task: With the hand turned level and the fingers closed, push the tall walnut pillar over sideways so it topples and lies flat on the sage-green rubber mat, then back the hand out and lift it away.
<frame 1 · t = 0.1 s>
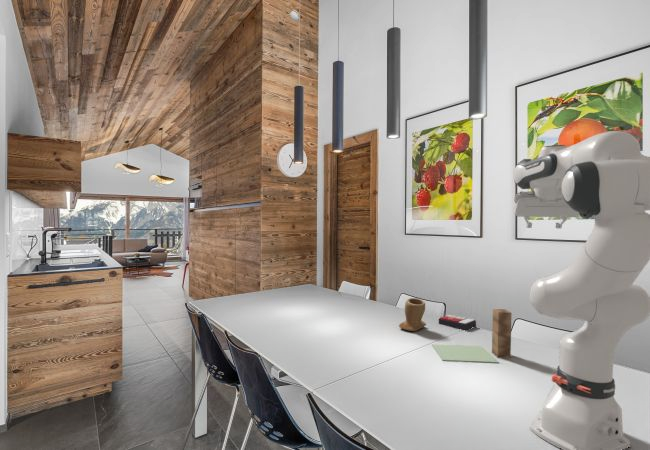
hand: (543, 227, 122), 52 cm above the table, tool tilted 20°, fingers open, 8 cm apart
walnut pillar: (501, 355, 133), on the table
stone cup: (414, 329, 165), on the table
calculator: (457, 326, 172), on the table
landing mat: (463, 353, 134), on the table
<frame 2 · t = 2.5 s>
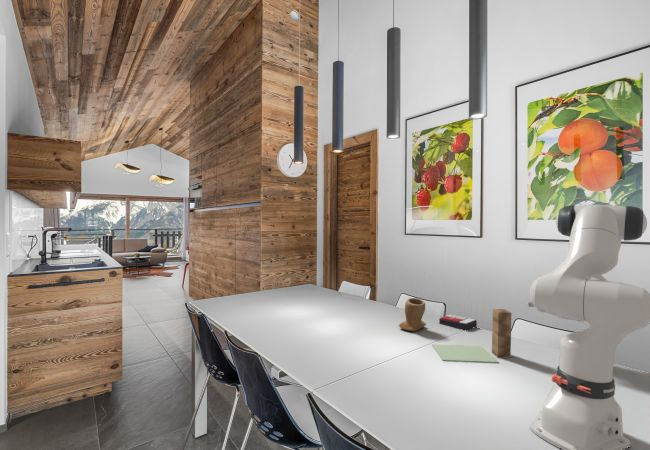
hand: (533, 306, 132), 20 cm above the table, tool horizontal, fingers open, 6 cm apart
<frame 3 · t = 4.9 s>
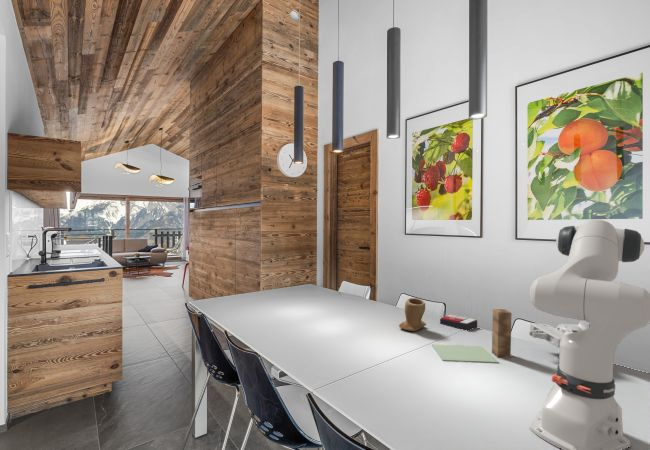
hand: (531, 334, 132), 9 cm above the table, tool horizontal, fingers closed
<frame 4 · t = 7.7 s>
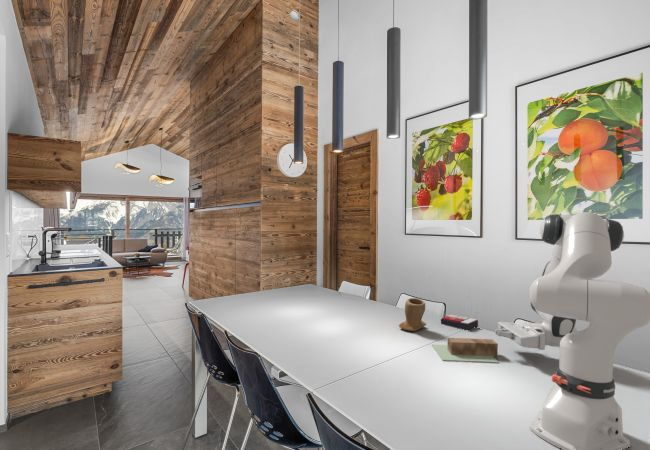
hand: (496, 332, 133), 9 cm above the table, tool horizontal, fingers closed
walnut pillar: (494, 347, 133), point 3 cm above the table, tilted 90°, touching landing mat
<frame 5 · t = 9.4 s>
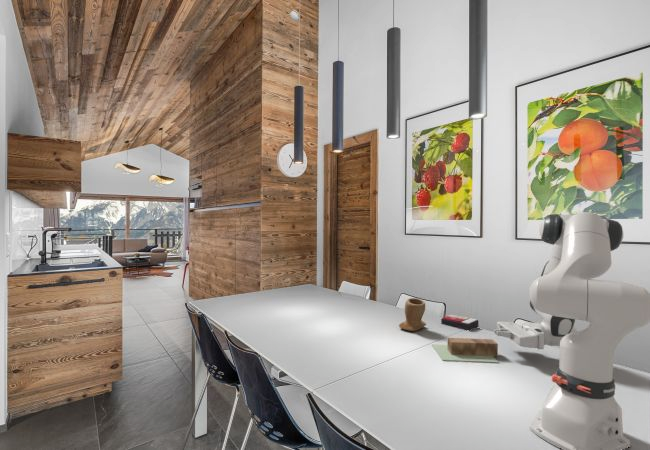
hand: (495, 332, 133), 9 cm above the table, tool horizontal, fingers closed
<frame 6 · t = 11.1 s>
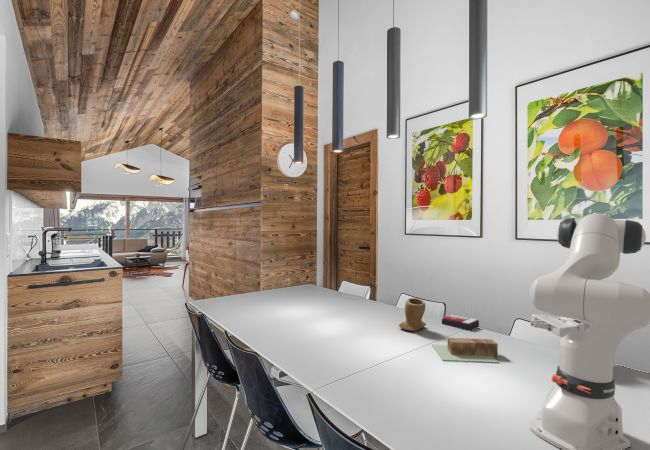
hand: (532, 324, 132), 13 cm above the table, tool horizontal, fingers closed
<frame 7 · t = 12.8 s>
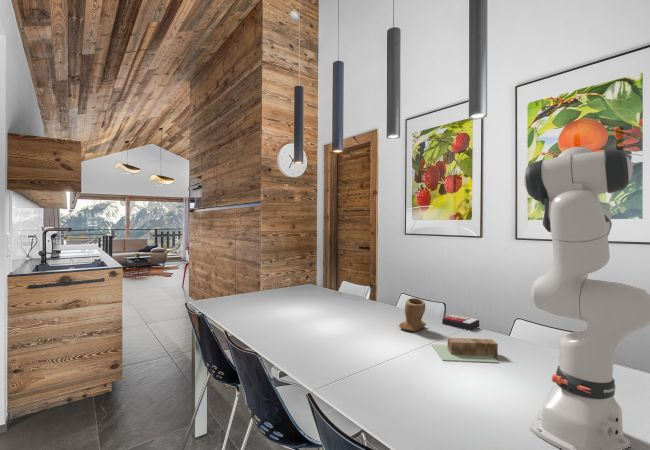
hand: (570, 289, 117), 30 cm above the table, tool tilted 20°, fingers closed
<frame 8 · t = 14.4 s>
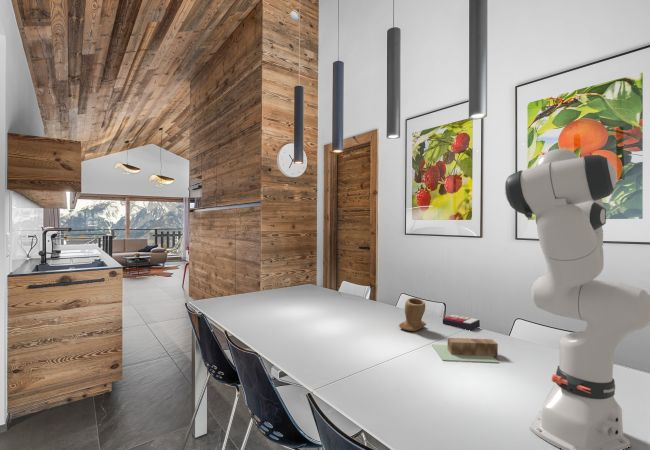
hand: (585, 280, 113), 34 cm above the table, tool pointing down, fingers closed
at the end: walnut pillar tilted 90°; walnut pillar touching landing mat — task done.
